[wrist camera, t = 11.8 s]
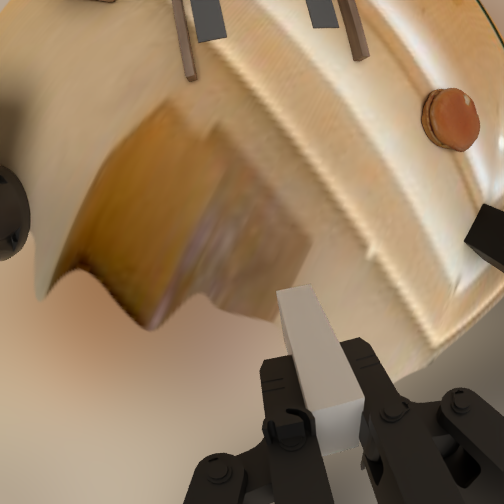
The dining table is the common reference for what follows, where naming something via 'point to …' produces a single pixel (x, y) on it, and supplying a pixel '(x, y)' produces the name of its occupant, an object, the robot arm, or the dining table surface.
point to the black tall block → (488, 236)
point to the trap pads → (213, 24)
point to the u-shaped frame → (348, 14)
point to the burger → (451, 119)
